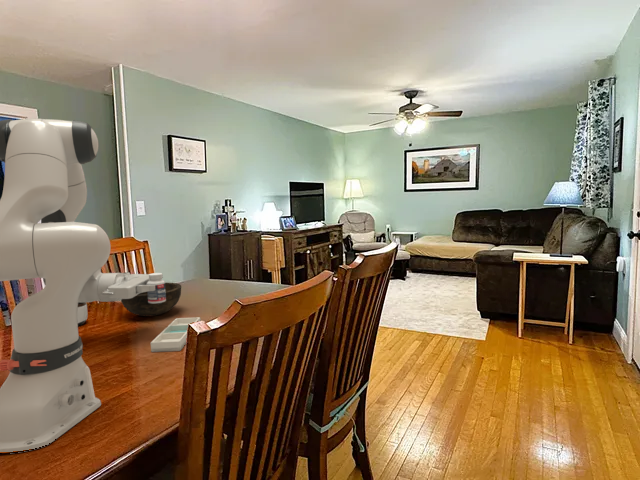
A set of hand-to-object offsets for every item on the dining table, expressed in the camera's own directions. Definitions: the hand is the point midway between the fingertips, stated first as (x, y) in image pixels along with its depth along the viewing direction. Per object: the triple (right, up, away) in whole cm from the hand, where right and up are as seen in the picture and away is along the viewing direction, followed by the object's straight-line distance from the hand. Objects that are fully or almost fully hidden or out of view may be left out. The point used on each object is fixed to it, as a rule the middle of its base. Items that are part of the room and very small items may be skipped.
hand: (159, 285), depth 127 cm
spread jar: (-38, -16, +14) cm, 43 cm away
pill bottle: (-1, -5, 0) cm, 5 cm away
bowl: (-13, -14, +27) cm, 33 cm away
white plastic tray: (+6, -16, 0) cm, 17 cm away
